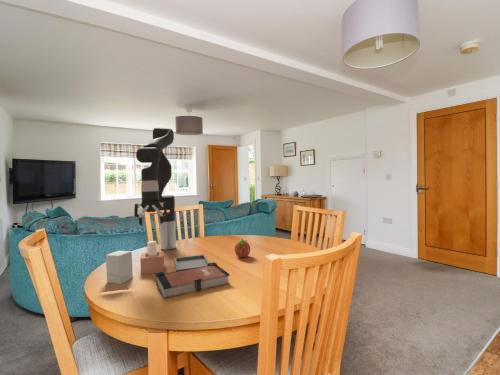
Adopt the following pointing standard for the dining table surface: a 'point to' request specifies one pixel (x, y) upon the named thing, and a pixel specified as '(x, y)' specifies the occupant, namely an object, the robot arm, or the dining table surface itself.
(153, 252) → the peg
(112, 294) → the dining table surface
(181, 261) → the tray
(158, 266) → the square hole frame
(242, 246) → the fruit
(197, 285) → the book
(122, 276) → the supplement box
